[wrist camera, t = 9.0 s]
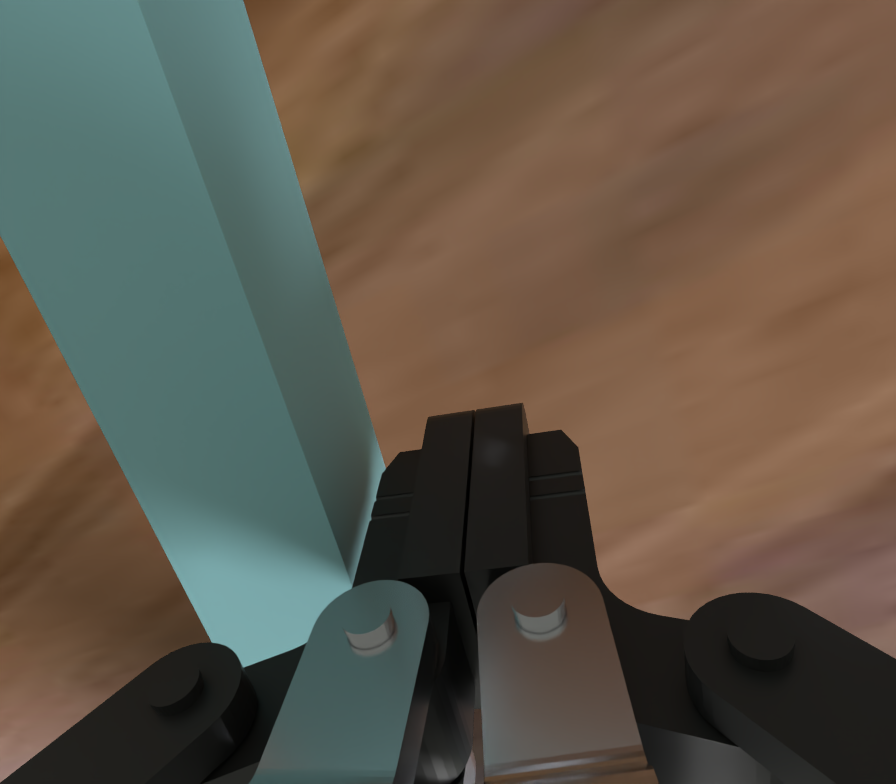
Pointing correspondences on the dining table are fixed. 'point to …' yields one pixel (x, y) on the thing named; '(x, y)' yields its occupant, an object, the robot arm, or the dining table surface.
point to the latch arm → (190, 299)
